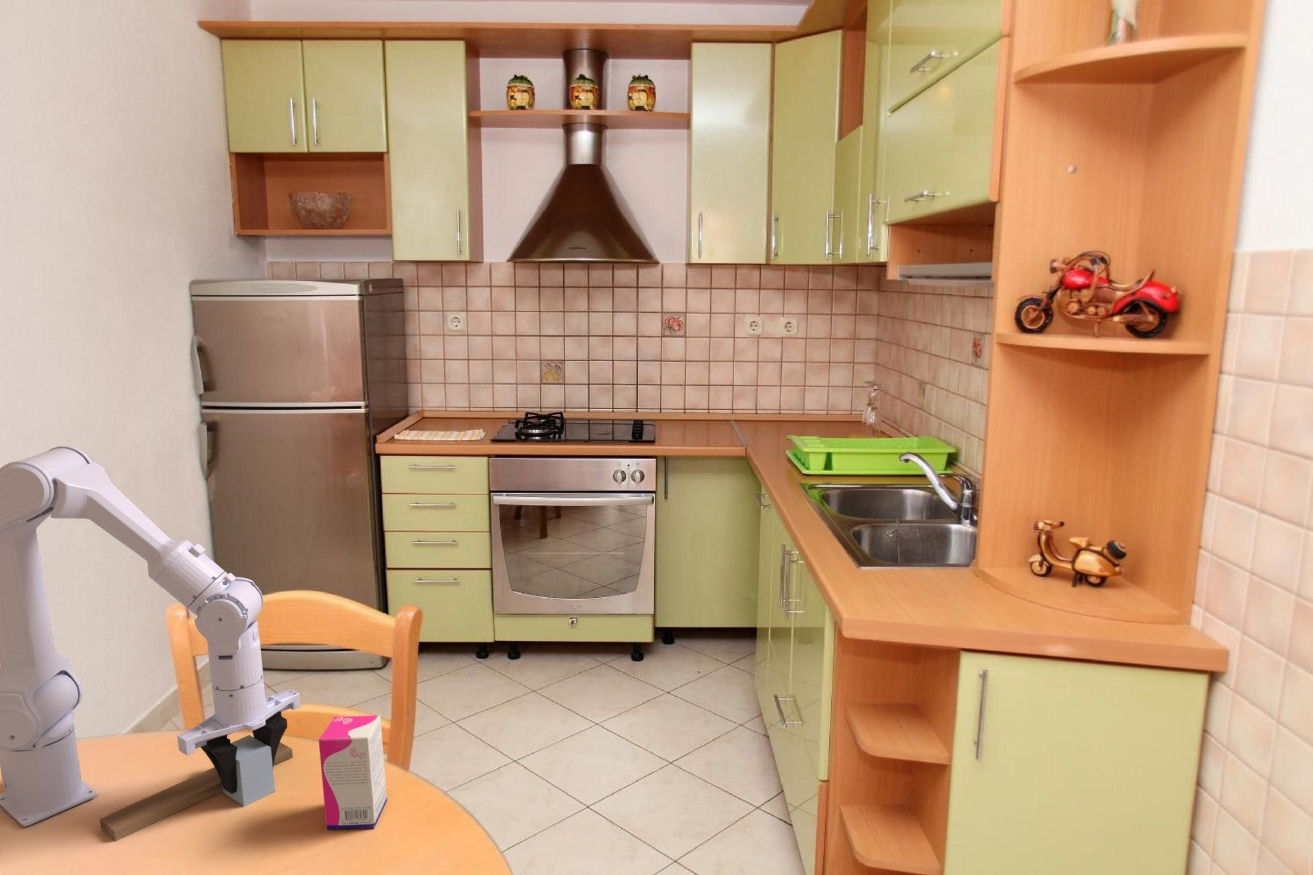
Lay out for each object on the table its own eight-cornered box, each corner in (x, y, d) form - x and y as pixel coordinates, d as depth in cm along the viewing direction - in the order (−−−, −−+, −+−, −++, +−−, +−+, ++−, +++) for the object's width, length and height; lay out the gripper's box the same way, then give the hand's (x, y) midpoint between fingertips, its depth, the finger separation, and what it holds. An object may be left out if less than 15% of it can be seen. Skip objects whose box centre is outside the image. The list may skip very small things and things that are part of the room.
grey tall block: (201, 777, 115) (196, 734, 114) (231, 763, 118) (227, 721, 117) (244, 806, 109) (239, 761, 107) (274, 791, 112) (270, 747, 111)
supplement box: (388, 799, 110) (382, 713, 108) (375, 829, 104) (368, 739, 102) (340, 800, 110) (333, 714, 107) (324, 830, 104) (316, 740, 102)
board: (100, 827, 105) (99, 817, 104) (276, 747, 122) (275, 738, 122) (116, 840, 102) (114, 830, 102) (292, 756, 119) (291, 748, 119)
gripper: (193, 713, 101) (206, 821, 103) (310, 667, 112) (318, 765, 115) (164, 695, 105) (177, 800, 107) (279, 653, 116) (288, 748, 119)
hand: (248, 781), depth 111 cm, fingers closed on grey tall block, 4 cm apart
